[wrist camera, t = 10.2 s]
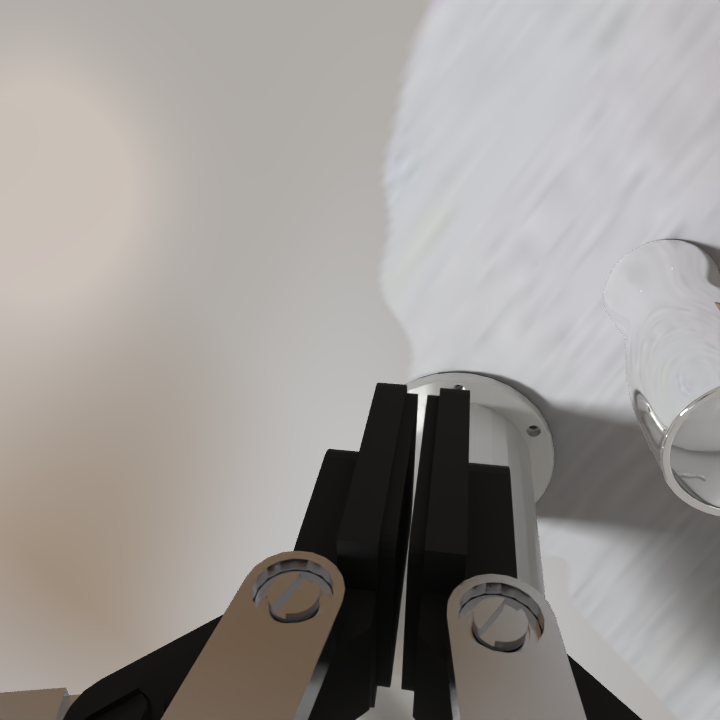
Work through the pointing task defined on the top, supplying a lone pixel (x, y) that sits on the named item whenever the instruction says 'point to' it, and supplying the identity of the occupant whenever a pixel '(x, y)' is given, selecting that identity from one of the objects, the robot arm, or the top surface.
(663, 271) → the beer glass
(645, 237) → the top surface
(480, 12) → the top surface
